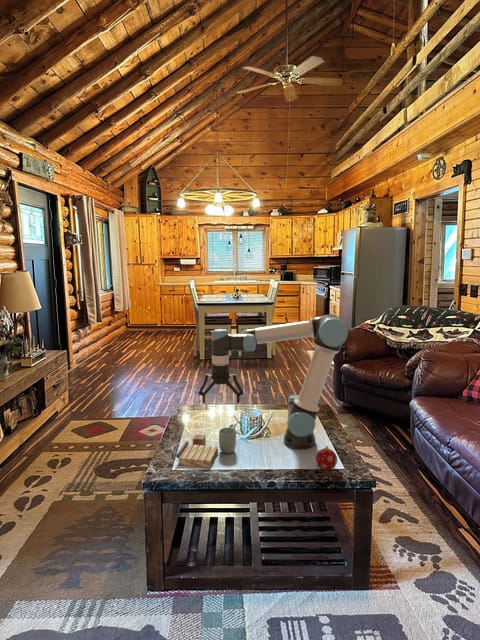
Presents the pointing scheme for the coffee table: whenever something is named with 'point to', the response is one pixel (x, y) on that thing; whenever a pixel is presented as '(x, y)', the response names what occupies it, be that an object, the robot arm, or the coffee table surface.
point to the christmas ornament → (326, 459)
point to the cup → (227, 440)
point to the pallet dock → (197, 455)
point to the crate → (199, 440)
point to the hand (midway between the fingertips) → (221, 409)
